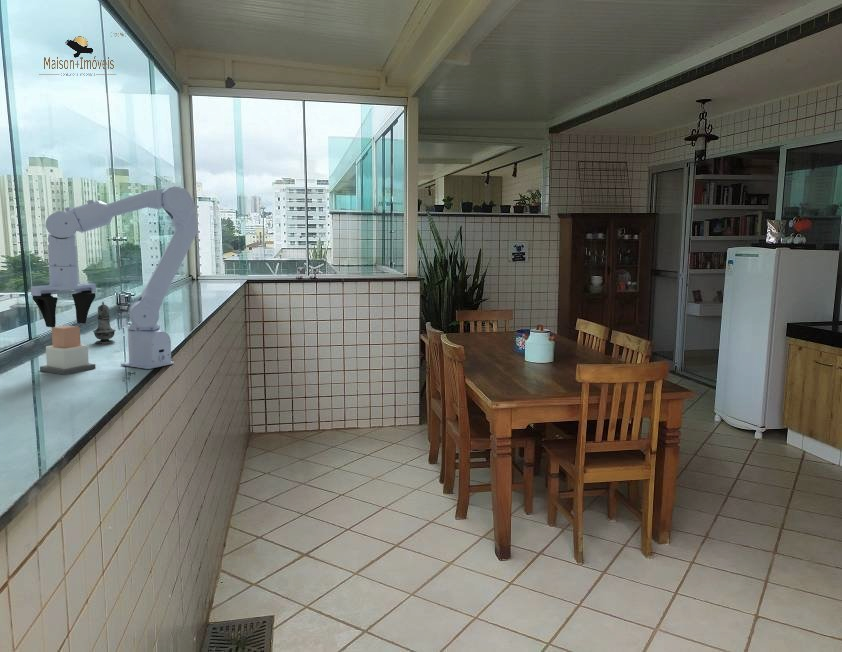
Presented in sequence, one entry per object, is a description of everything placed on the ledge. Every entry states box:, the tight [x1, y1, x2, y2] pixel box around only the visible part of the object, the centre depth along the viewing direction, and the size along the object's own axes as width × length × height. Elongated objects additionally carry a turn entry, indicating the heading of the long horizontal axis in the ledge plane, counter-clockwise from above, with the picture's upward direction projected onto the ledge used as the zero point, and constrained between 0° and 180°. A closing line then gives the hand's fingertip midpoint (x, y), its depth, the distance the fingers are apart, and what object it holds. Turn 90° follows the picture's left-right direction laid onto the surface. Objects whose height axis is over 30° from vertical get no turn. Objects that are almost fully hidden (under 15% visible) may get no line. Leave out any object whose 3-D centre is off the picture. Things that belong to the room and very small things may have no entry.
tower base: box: [39, 344, 97, 376], centre depth 142 cm, size 8×8×6 cm
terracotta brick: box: [51, 325, 81, 348], centre depth 141 cm, size 4×4×5 cm
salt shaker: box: [92, 301, 116, 345], centre depth 177 cm, size 6×6×12 cm
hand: (66, 325), depth 141 cm, fingers open, 7 cm apart
